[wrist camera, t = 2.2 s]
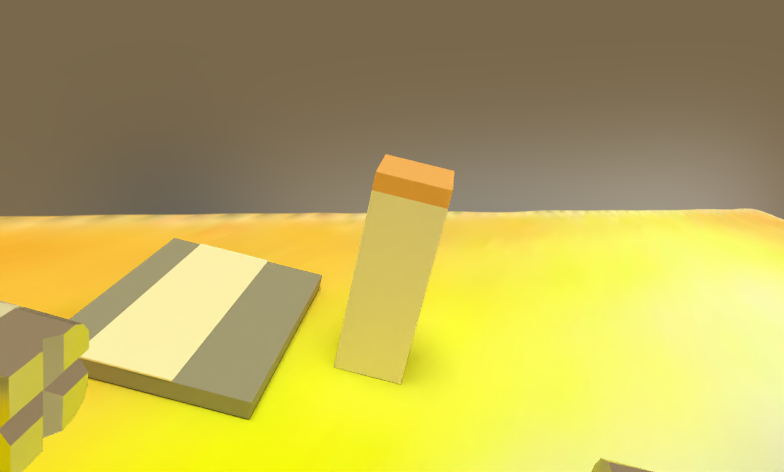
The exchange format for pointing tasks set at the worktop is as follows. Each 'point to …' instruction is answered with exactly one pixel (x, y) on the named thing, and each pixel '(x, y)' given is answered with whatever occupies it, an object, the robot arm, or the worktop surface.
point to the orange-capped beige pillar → (393, 267)
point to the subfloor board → (197, 325)
